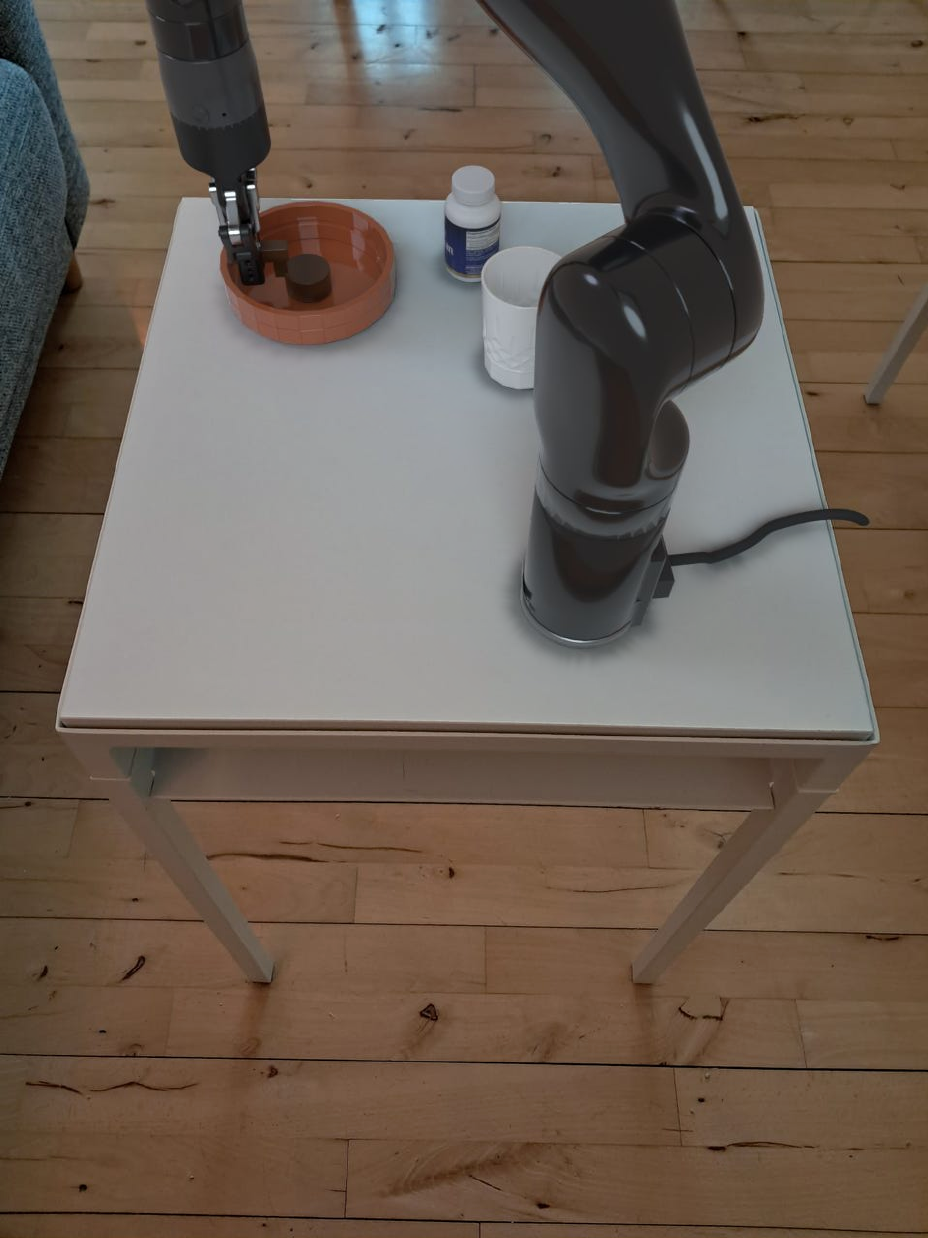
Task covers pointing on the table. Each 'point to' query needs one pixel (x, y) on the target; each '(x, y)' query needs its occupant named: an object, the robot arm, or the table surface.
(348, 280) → the bowl
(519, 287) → the white cup
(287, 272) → the brown cylinder with tab
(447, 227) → the pill bottle
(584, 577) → the robot arm
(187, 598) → the table surface
